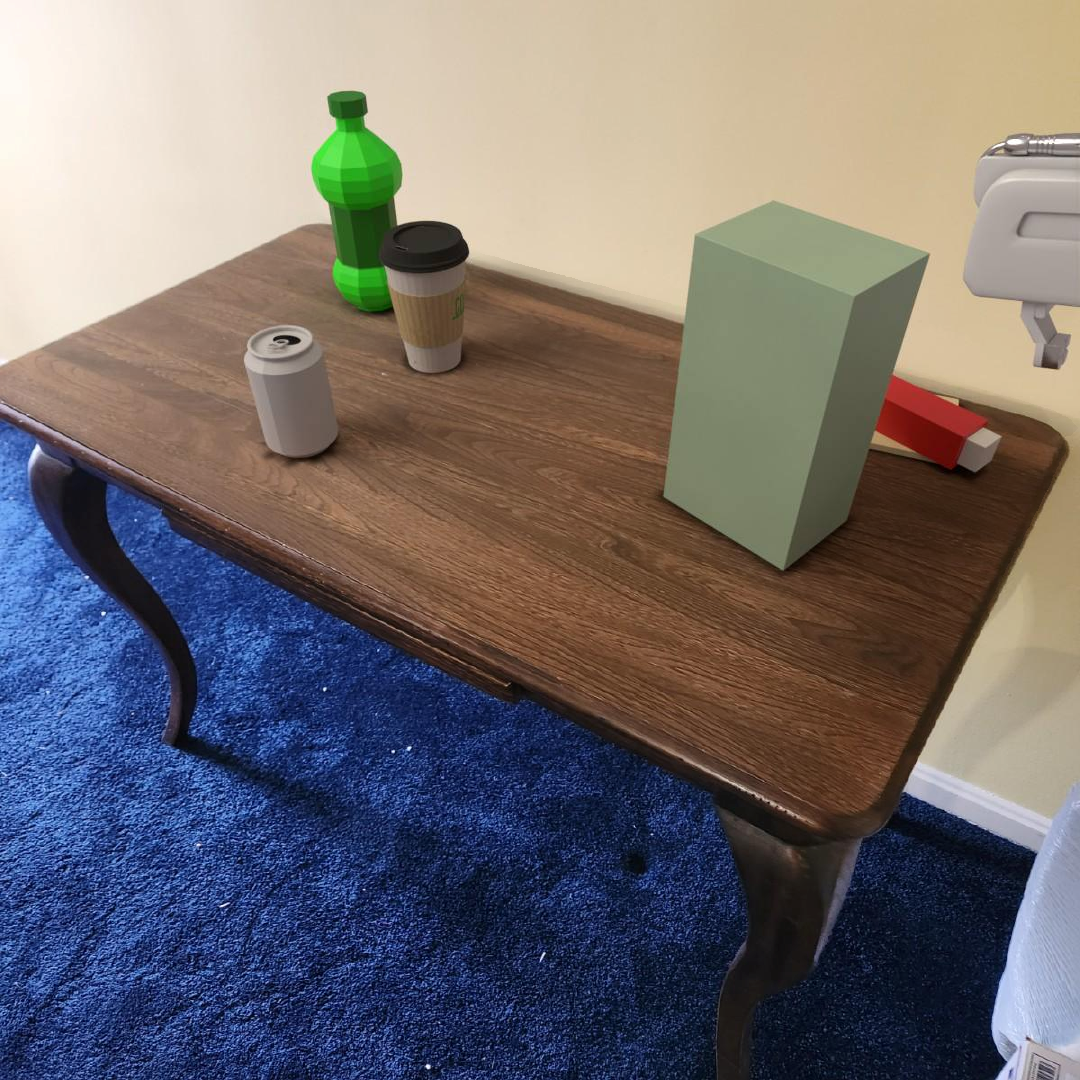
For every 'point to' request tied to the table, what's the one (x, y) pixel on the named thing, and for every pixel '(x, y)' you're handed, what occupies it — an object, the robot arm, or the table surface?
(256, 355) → the can
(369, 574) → the table surface
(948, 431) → the long red beam
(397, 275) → the coffee cup
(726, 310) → the stand
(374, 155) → the plastic bottle
